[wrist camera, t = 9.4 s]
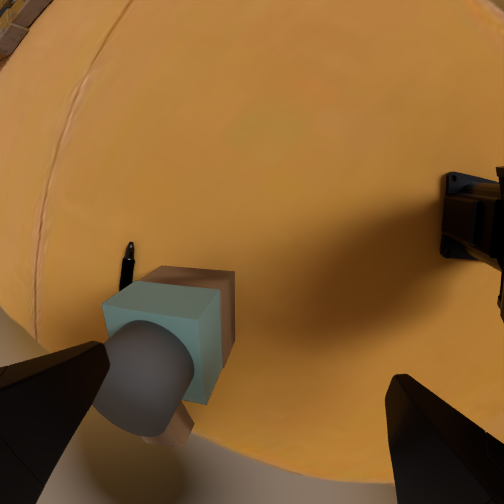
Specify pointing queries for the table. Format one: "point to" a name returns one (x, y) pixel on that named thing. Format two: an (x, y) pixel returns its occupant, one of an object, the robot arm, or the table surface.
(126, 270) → the pen
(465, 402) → the table surface
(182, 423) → the block
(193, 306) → the tower top
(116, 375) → the stone
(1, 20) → the futuristic tool
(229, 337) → the tower base
